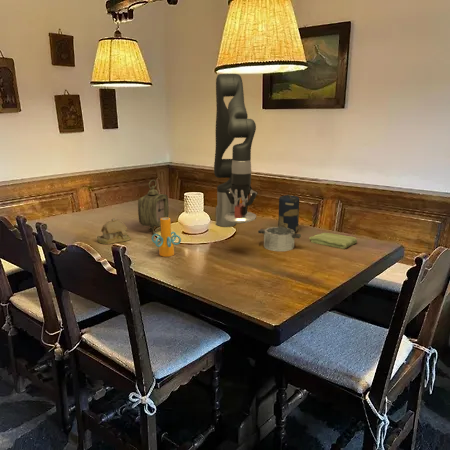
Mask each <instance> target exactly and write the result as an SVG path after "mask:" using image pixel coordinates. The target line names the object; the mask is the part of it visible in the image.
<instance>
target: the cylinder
mask: <svg viewBox="0 0 450 450" xmlns="http://www.w3.org/2000/svg"><path fill="white" fill-rule="evenodd" d="M171 220H172V219H171V218H170V217H168V218H161V219H160V223H161V226H160V234H159V233H156V234H152V236H151V241H152V242H153V244H155V246H156V247H157V248H158V250H159V252H158V253H159V254H158V255H159V256H160V257H164V258H169V257H172V256H174V255H175V246H178V245H180V244H181V242H182V238H181V236H180V235H178V234H177V233H176V231H172V222H171ZM155 236H157V237H156V239H154V238H155ZM177 238H178V242H175V241H176V239H177Z"/></svg>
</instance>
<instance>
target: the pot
mask: <svg viewBox="0 0 450 450" xmlns="http://www.w3.org/2000/svg"><path fill="white" fill-rule="evenodd" d="M257 233H258V234H263V247H264V249H266V250H269V251H271V252H273V251H274V252H288V251H292V250H293V249H294V248H295V239H300V238H301V237H302V234H301V233H296V232H295V231H294V230H293V229H290V228H285V227H278V226H271V227H267V228H264V229H263V228H260V229H258V231H257Z"/></svg>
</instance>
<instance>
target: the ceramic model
mask: <svg viewBox="0 0 450 450" xmlns="http://www.w3.org/2000/svg"><path fill="white" fill-rule="evenodd" d="M127 231H128V227H127V225H126V224H125V223H124V222H123V221H122V220H120V219H116V218H112V219H111V220H110V221H109V220H108V221H106V223H105V224H103V225H102V227H101V231H100V232H101V233H102V235H98V236H96V239H97V242H98V244H99V243H100V244H103V245H104V244H105V245H109V244H111V245H112V244H116V243H121V242H122V243H123V242H126V241H127V242H128V241H129V240H131V239H132V237H131V236H130V235H129V234H128V232H127Z"/></svg>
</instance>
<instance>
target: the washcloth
mask: <svg viewBox="0 0 450 450" xmlns="http://www.w3.org/2000/svg"><path fill="white" fill-rule="evenodd" d="M309 241H310V242H311V243H313V244H317V245H321V246H327V247H331V248H336V249H341V250H346V248H350V247H351V246H353V245H356V244H357V243H358V239H357V238H356V237H354V236H348V235H345V234H336V233H331V232H322V233H318V234H315V235H314V236H313V235H312V236H309Z"/></svg>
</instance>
